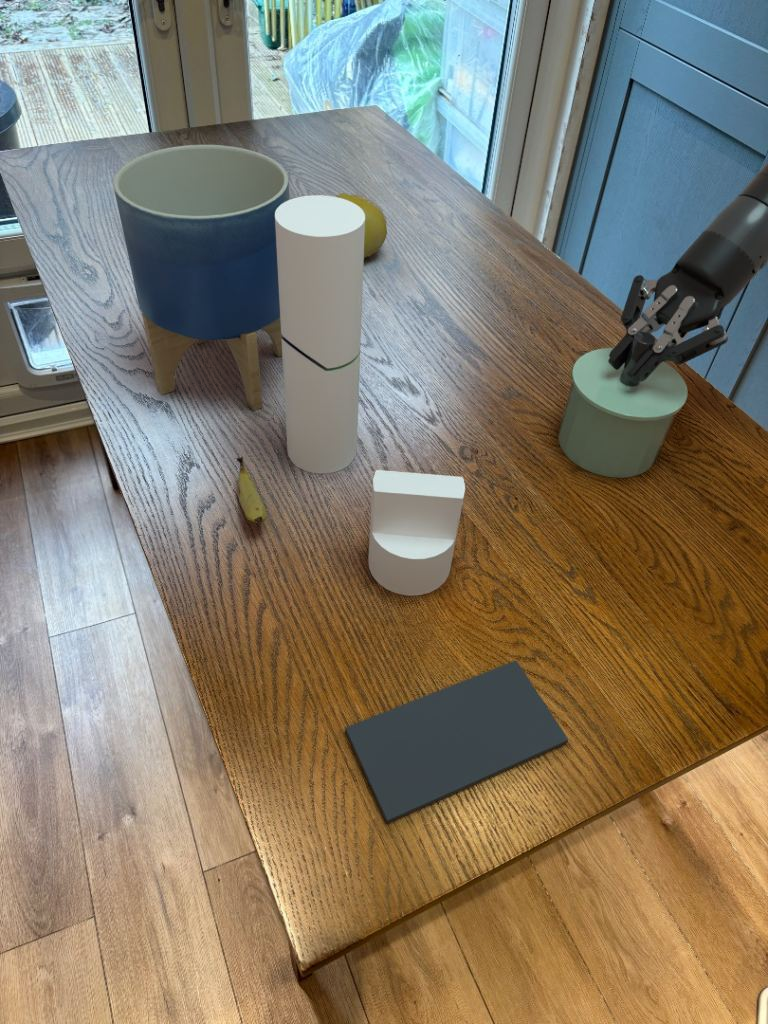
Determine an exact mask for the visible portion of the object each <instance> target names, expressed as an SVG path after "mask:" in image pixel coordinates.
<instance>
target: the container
mask: <svg viewBox="0 0 768 1024" xmlns="http://www.w3.org/2000/svg"><path fill="white" fill-rule="evenodd" d="M275 228H276V246H277V265H278V284H279V302H280V321H281V334H282V335H283V336H284V337H285V338H283V337H281V339H282V356H281V358H282V375H283V392H284V393H283V394H284V411H285V414H284V415H285V429H286V431H285V432H286V449H287V450H286V451H287V456H288V458H289V460H290V461H291V462H292V464H293V465H295V467H297V468H298V469H301V470H302V471H305V472H307V473H312V474H319V475H324V474H333V473H337V472H340V471H342V470H344V469H345V468H347V467H349V466H350V465H351V464H352V463H353V462H354V460H355V458H356V457H357V453H358V451H357V450H358V426H359V425H358V424H359V400H360V399H359V397H360V394H359V393H360V372H361V371H360V369H361V343H362V342H361V341H362V318H363V317H362V316H363V315H362V313H363V292H364V291H363V288H364V287H363V286H364V263H365V262H364V261H365V258H364V236H365V214H364V212H363V210H362V209H361V208H360V207H359V206H358V205H356V204H354V203H352V202H350V201H348V200H345V199H342V198H338V197H335V196H331V195H321V194H319V195H318V194H317V195H316V194H314V195H313V194H312V195H304V196H298V197H294V198H290V199H289V200H288V201H286V202H284V203H283V204H281V205H280V206H279V207H278V208H277V209H276V211H275Z"/></svg>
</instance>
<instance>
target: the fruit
mask: <svg viewBox="0 0 768 1024" xmlns="http://www.w3.org/2000/svg"><path fill="white" fill-rule="evenodd" d="M334 197H338V198H342V199H345V200H348V201H350V202H352V203H354V204H356V205H358V206H359V207H360V208H361V209H362V210H363V212H364V214H365V236H364V259H366V258H368V257H371V256H373V255H374V254H375V253H376V252H378V251H379V250H380V249H381V248H382V247H383V244H384V243H385V241H386V238H387V234H388V228H387V218H386V216H385V214H384V212H383V208H382V207H381V206H380V205H379V204H378V203H376V202H375V201H374V200H373V199H370V198H369V197H366V196H364V195H359V194H348V193H344V192H343V193H339V194H337V195H336V196H334ZM367 256H368V257H367ZM365 257H366V258H365Z"/></svg>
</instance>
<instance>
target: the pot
mask: <svg viewBox="0 0 768 1024" xmlns="http://www.w3.org/2000/svg"><path fill="white" fill-rule="evenodd" d="M676 415H677V413H676V414H674V415H672V416H670V417H667V418H664V419H660V420H654V421H636V420H629V419H624V418H620V417H616V416H613V415H610V414H608V413H605V412H603V411H601V410H599V409H597V408H596V407H594V406H592V405H591V404H590V403H588V402H587V401H586V400H585V399H583V398H582V397H581V396H580V394H579V393H578V392H577V390H576V389H575V387H574V385H573V382H572V381H571V385H570V389H569V392H568V395H567V398H566V403H565V406H564V409H563V411H562V416H561V418H560V423H559V426H558V433H557V440H558V444H559V446H560V449H561V451H562V452H563V453H564V455H565V456H566V457H567V458H568V459H569V460H570V461H571V462H572V463H574V464H575V465H576V466H578V467H579V468H581V469H583V470H585V471H587V472H590V473H592V474H595V475H599V476H602V477H607V478H613V479H614V478H616V479H622V478H623V479H624V478H632V477H637V476H639V475H641V474H644V473H645V472H647V471H648V470H649V469H651V468H652V466H653V465H654V464H655V462H656V459H657V458H658V457H659V455H660V452H661V450H662V449H663V445H664V443H665V441H666V438H667V436H668V433H669V431H670V429H671V427H672V425H673V422H674V420H675V418H676Z"/></svg>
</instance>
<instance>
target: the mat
mask: <svg viewBox="0 0 768 1024" xmlns="http://www.w3.org/2000/svg"><path fill="white" fill-rule="evenodd" d="M344 730H345V735H346V737H347V739H348V741H349V743H350V745H351V747H352V750H353V752H354V754H355V756H356V759H357V761H358V763H359V765H360V767H361V770H362V772H363V774H364V776H365V779H366V781H367V783H368V785H369V788H370V790H371V792H372V794H373V797H374V798H375V801H376V803H377V805H378V808H379V811H380V812H381V814H382V817H383V819H384V821H385V823H386V824H390V823H393V822H395V821H397V820H399V819H401V818H404V817H407V816H409V815H411V814H413V813H415V812H418V811H419V810H422V809H424V808H426V807H429V806H431V805H432V804H435V803H437V802H440V801H442V800H444V799H446V798H449V797H451V796H453V795H455V794H457V793H459V792H462V791H464V790H466V789H468V788H470V787H473V786H475V785H477V784H480V783H482V782H484V781H486V780H489V779H491V778H493V777H495V776H498V775H500V774H502V773H504V772H506V771H508V770H511V769H513V768H515V767H517V766H521V765H523V764H524V763H527V762H529V761H531V760H533V759H535V758H538V757H540V756H542V755H544V754H547V753H549V752H551V751H554V750H555V749H557V748H560V747H563V746H564V745H567V744H568V742H569V738H568V736H567V735H566V734H565V732H564V731H563V729H562V727H561V726H560V725H559V723H558V721H557V720H556V719H555V717H554V716H553V714H552V712H551V711H550V709H549V707H548V706H547V705H546V703H545V701H544V700H543V698H542V697H541V695H540V694H539V692H538V691H537V689H536V688H535V687H534V684H533V683H532V682H531V680H530V679H529V677H528V676H527V675H526V672H525V671H524V669H523V668H522V667H521V665H520V663H519V662H518V660H513V661H510V662H508V663H505V664H502V665H500V666H497V667H495V668H493V669H490V670H488V671H485V672H483V673H480V674H478V675H475V676H472V677H470V678H467V679H465V680H462V681H460V682H457V683H454V684H452V685H450V686H447V687H444V688H442V689H439V690H437V691H434V692H432V693H429V694H427V695H424V696H422V697H419V698H416V699H414V700H411V701H409V702H406V703H404V704H402V705H399V706H397V707H394V708H391V709H388V710H386V711H384V712H383V711H382V712H381V713H378V714H376V715H374V716H371V717H369V718H366V719H363V720H361V721H358V722H355V723H353V724H351V725H348V726H345V729H344Z"/></svg>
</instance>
